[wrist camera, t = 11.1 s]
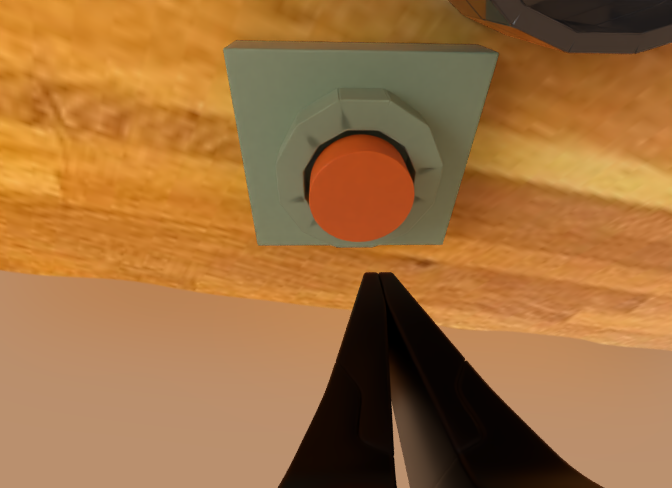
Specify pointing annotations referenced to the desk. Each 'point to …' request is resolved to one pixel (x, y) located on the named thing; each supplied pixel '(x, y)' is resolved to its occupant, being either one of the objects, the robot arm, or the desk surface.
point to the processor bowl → (577, 23)
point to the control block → (354, 125)
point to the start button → (360, 188)
